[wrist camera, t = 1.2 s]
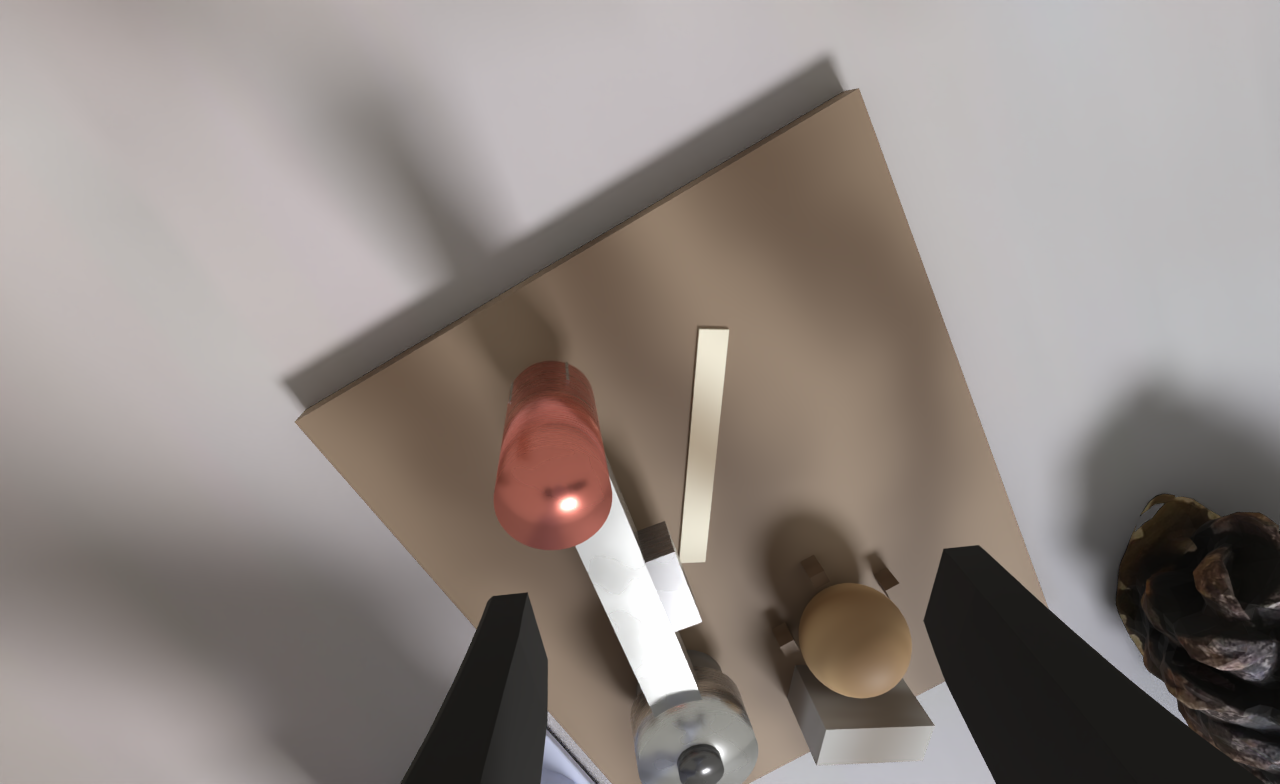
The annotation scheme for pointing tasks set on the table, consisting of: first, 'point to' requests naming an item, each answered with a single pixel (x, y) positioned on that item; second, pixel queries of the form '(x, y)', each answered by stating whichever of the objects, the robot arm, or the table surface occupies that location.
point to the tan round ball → (855, 640)
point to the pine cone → (1211, 623)
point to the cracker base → (713, 439)
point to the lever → (619, 577)
